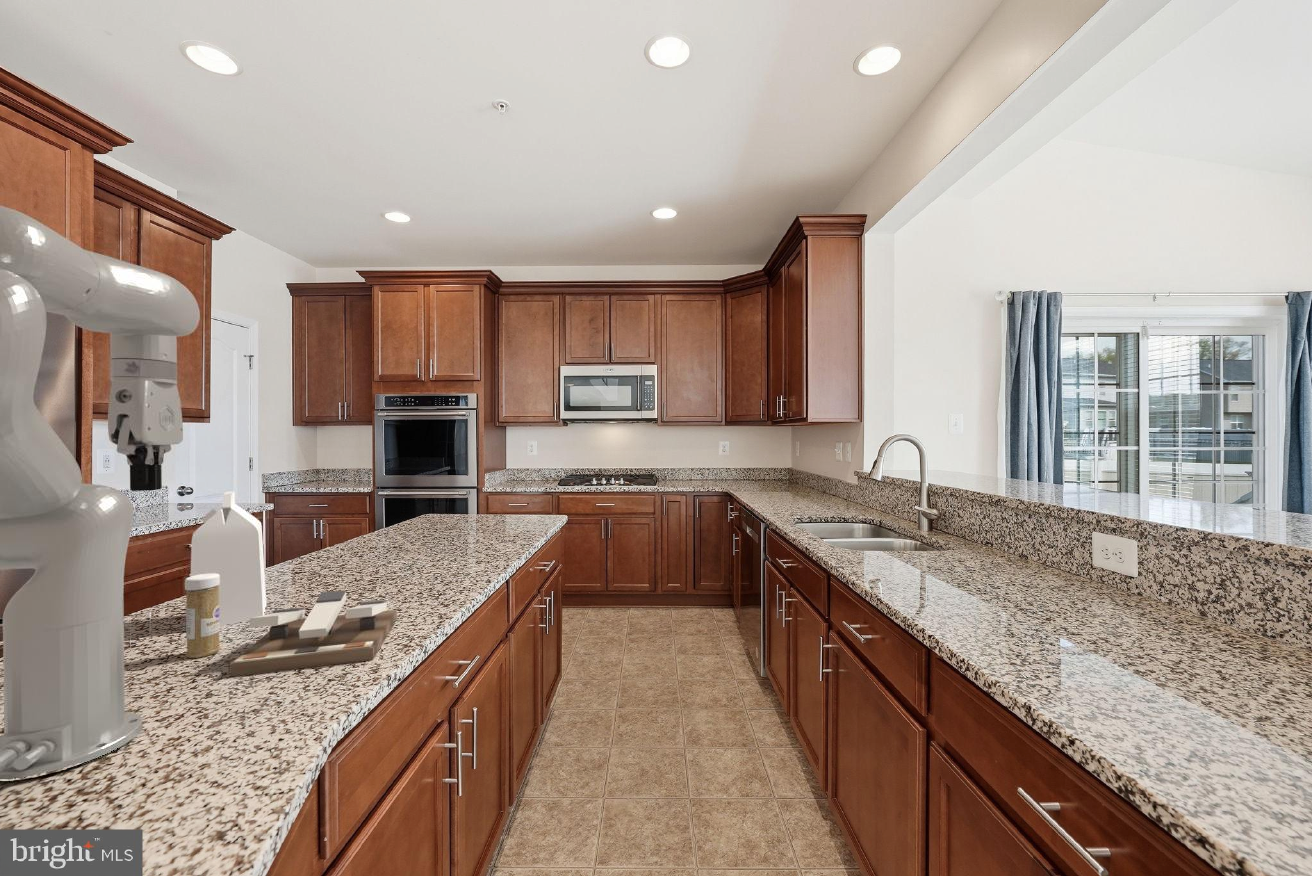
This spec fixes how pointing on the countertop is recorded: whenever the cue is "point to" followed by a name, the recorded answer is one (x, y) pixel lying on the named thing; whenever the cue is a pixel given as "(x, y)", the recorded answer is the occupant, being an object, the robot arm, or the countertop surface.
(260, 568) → the milk
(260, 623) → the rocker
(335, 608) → the rocker middle
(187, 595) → the sprinkles bottle
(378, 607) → the block
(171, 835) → the countertop surface
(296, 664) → the switch unit
